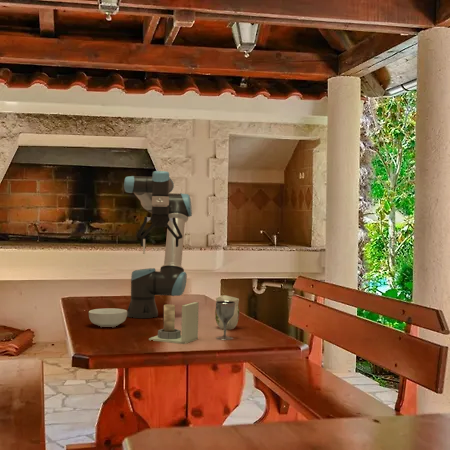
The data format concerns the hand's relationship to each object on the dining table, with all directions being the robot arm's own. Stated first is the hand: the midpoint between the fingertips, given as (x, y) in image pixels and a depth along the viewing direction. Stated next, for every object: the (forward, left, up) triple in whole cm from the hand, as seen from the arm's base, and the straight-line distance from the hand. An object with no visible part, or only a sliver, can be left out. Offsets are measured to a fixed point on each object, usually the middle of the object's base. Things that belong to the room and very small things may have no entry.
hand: (159, 254), depth 306 cm
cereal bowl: (-21, -8, -33) cm, 40 cm away
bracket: (+19, -22, -33) cm, 44 cm away
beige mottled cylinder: (+17, -22, -32) cm, 42 cm away
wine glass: (+36, -9, -33) cm, 50 cm away
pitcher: (+28, +13, -33) cm, 45 cm away
